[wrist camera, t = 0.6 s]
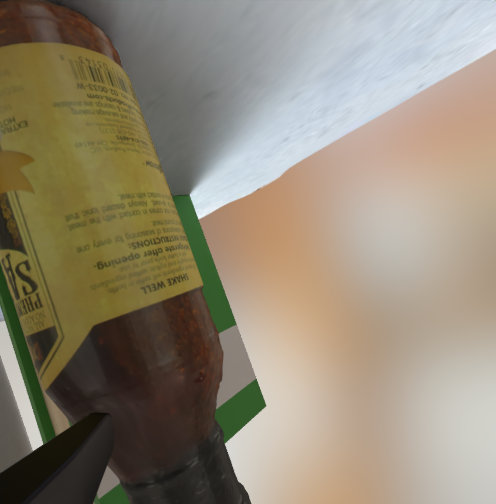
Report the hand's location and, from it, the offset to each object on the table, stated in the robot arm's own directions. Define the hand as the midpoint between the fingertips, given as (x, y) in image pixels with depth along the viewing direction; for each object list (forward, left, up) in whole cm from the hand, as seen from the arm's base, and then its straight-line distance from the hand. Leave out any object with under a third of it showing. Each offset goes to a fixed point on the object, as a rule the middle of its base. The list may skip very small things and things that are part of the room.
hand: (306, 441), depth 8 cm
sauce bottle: (+5, -5, -15) cm, 16 cm away
